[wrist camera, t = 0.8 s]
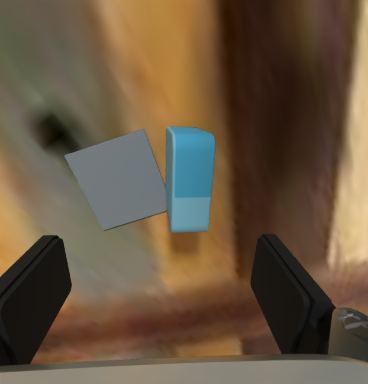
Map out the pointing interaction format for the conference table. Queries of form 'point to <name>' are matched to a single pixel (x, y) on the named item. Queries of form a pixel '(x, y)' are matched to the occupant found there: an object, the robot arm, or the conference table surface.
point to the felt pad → (120, 179)
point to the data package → (189, 178)
